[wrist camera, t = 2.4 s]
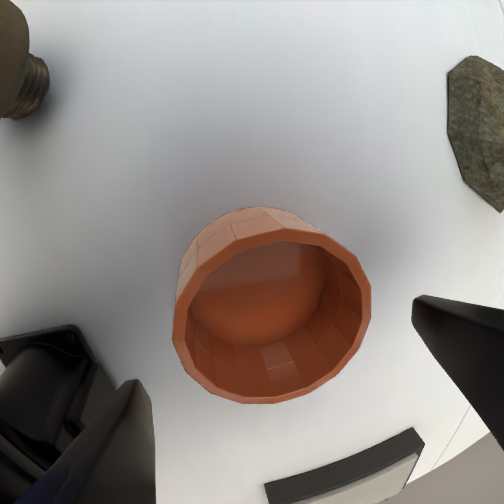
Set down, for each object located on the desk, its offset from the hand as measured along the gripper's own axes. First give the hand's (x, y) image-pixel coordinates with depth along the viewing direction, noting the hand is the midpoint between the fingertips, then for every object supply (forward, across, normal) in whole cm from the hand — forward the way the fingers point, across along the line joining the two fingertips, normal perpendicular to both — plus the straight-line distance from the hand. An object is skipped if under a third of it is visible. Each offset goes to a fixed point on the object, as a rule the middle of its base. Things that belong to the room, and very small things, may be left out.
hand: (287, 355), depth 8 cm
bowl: (+5, 0, 0) cm, 5 cm away
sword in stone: (+5, -16, -5) cm, 18 cm away
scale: (+5, -4, +24) cm, 25 cm away
